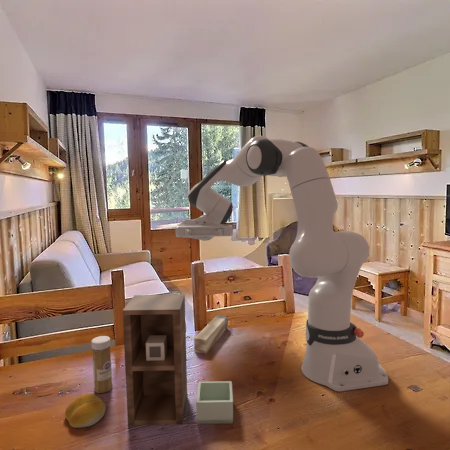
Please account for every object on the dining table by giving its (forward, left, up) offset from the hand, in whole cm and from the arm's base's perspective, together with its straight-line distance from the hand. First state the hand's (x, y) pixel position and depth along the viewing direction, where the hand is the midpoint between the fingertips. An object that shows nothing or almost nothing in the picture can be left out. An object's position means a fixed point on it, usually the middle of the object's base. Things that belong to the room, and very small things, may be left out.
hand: (203, 233), depth 115 cm
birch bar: (-2, +2, -36) cm, 36 cm away
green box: (-4, +40, -36) cm, 54 cm away
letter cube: (+9, +40, -22) cm, 46 cm away
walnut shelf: (+9, +39, -36) cm, 54 cm away
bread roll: (+26, +40, -36) cm, 60 cm away
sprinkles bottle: (+25, +30, -36) cm, 53 cm away
